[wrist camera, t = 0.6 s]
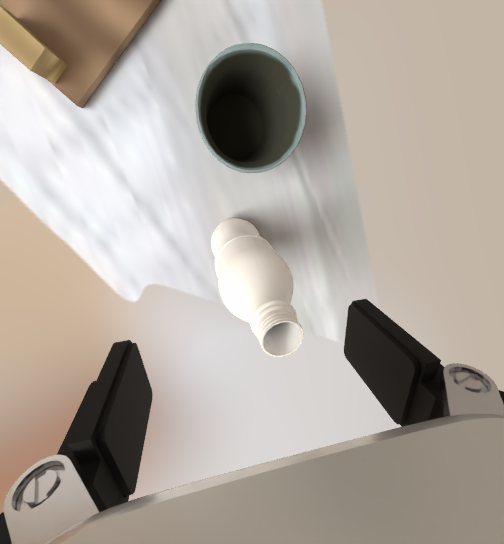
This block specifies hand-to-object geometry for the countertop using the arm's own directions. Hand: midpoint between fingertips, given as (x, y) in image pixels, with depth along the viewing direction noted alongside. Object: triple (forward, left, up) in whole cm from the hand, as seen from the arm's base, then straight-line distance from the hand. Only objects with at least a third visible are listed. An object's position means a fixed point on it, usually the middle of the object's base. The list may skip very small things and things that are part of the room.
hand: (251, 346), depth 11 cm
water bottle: (0, +5, -30) cm, 30 cm away
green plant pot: (-11, -5, -30) cm, 32 cm away
